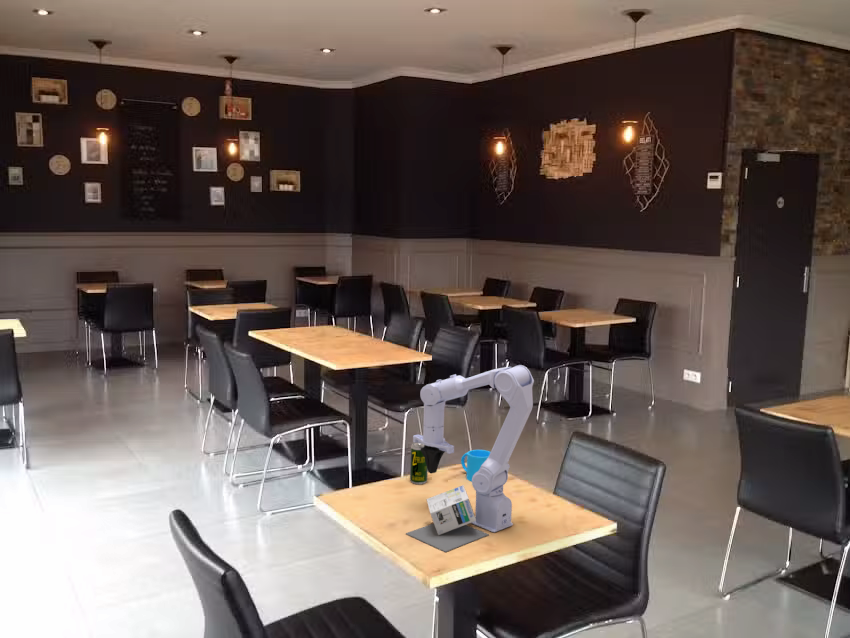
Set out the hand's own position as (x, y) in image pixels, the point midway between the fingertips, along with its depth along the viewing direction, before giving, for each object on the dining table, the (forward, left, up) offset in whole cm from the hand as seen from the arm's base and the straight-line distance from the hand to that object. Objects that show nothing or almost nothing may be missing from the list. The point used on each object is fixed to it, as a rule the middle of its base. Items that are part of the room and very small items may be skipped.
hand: (432, 472), depth 223 cm
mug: (+10, -29, -11) cm, 32 cm away
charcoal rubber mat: (-16, +10, -10) cm, 22 cm away
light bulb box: (-11, +11, -7) cm, 17 cm away
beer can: (+18, -12, -11) cm, 24 cm away
